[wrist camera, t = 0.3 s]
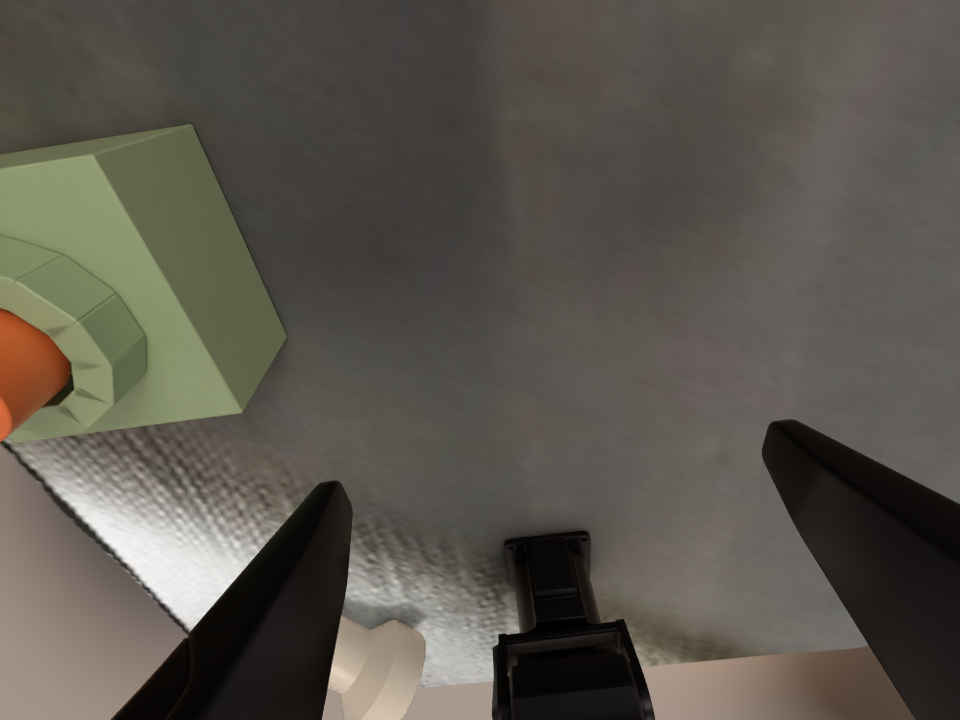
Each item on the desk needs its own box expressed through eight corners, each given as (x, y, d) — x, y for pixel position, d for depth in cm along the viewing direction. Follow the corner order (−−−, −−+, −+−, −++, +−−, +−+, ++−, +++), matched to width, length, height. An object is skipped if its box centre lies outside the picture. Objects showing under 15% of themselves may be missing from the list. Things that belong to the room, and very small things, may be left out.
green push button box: (287, 336, 24) (222, 449, 17) (104, 361, 24) (-29, 481, 17) (192, 123, 18) (38, 169, 11) (-47, 161, 18) (-329, 227, 12)
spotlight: (385, 667, 43) (365, 766, 36) (282, 611, 41) (236, 704, 33) (435, 617, 41) (425, 711, 34) (329, 555, 39) (292, 641, 31)
